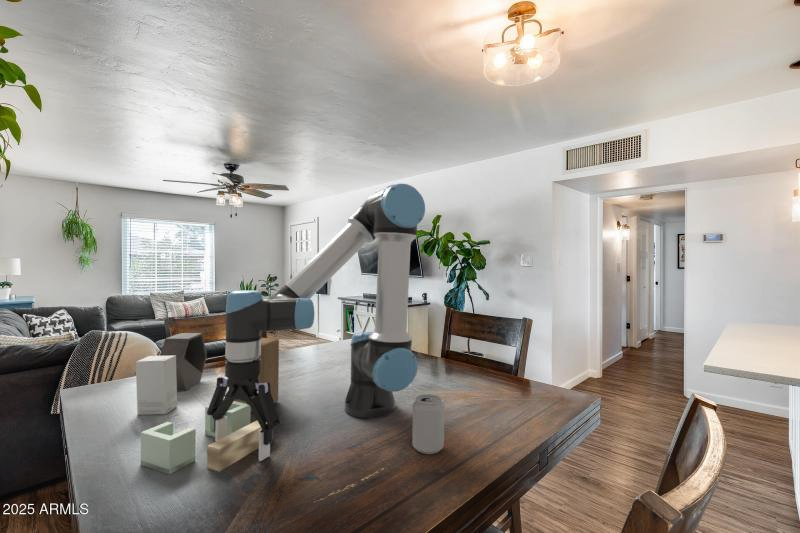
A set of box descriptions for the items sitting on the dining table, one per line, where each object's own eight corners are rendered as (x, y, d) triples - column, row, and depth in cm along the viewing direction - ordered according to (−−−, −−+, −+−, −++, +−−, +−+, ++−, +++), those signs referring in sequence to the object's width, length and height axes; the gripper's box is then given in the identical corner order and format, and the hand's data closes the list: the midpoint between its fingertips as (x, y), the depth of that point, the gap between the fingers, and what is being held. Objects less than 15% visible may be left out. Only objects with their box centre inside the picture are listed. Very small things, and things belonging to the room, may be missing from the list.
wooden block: (261, 414, 110) (262, 344, 110) (230, 411, 112) (231, 342, 112) (279, 401, 120) (280, 338, 120) (250, 399, 122) (251, 336, 122)
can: (424, 437, 96) (425, 390, 96) (449, 447, 92) (450, 397, 92) (405, 448, 91) (406, 398, 90) (432, 459, 86) (432, 406, 86)
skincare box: (177, 406, 115) (178, 354, 114) (164, 415, 108) (165, 360, 108) (149, 406, 114) (149, 354, 114) (134, 415, 108) (135, 360, 108)
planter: (175, 383, 122) (193, 323, 133) (150, 383, 121) (170, 323, 132) (196, 397, 136) (210, 341, 147) (173, 397, 135) (190, 341, 147)
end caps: (224, 425, 102) (224, 399, 102) (250, 431, 98) (250, 404, 98) (140, 464, 82) (140, 432, 82) (169, 474, 78) (169, 440, 78)
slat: (261, 437, 96) (261, 417, 96) (272, 440, 94) (272, 420, 94) (207, 469, 81) (207, 445, 81) (219, 473, 80) (219, 449, 80)
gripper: (297, 360, 86) (296, 455, 86) (217, 349, 96) (216, 435, 96) (274, 368, 79) (272, 472, 79) (190, 356, 89) (189, 448, 89)
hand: (242, 452), depth 88 cm, fingers open, 12 cm apart
